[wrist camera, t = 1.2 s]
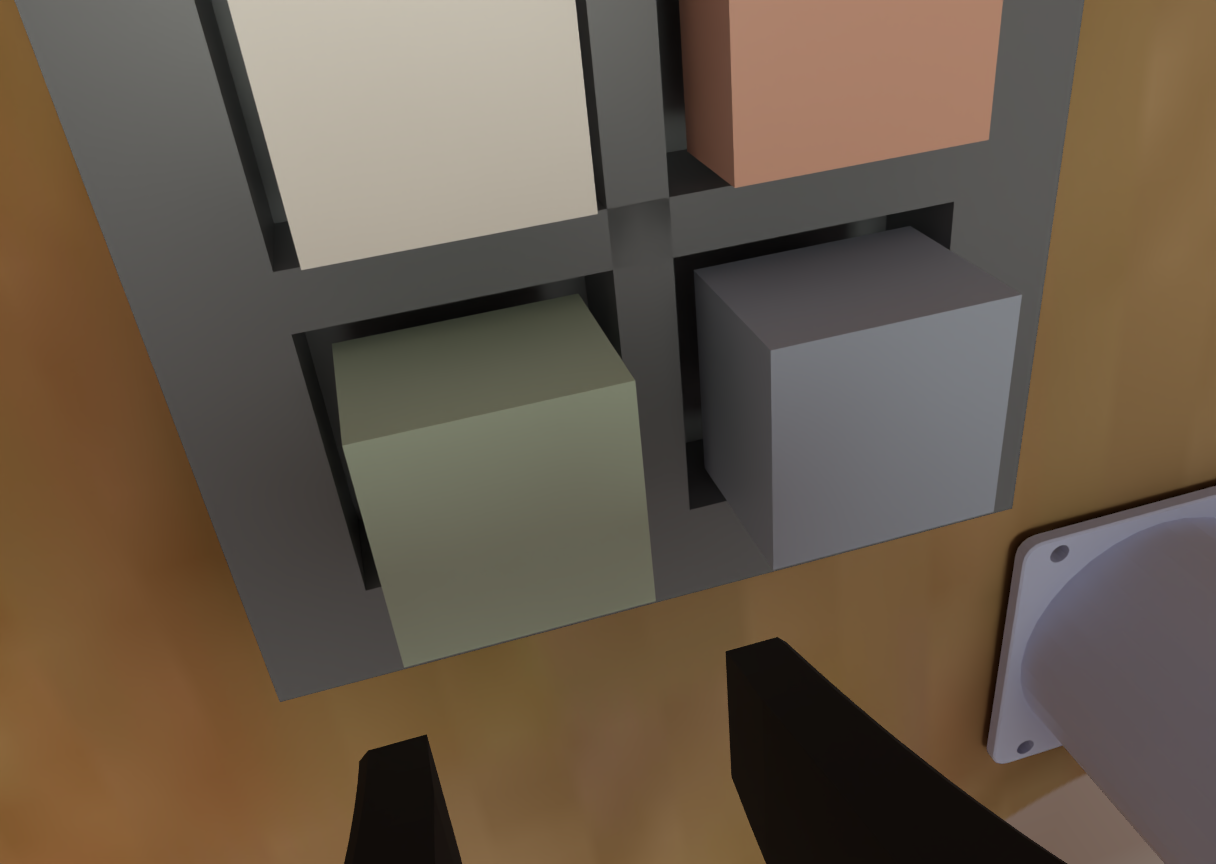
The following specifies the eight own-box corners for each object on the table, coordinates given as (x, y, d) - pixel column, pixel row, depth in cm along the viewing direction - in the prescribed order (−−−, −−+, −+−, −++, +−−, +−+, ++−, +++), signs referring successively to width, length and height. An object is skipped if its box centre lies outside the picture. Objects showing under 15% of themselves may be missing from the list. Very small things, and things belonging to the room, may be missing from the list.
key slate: (910, 225, 18) (1021, 294, 15) (897, 421, 20) (993, 511, 17) (693, 269, 17) (770, 350, 14) (704, 467, 19) (773, 569, 16)
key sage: (578, 293, 17) (634, 381, 14) (602, 492, 19) (655, 600, 16) (331, 343, 16) (342, 445, 13) (385, 544, 18) (403, 667, 15)
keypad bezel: (1030, -385, 15) (1154, -422, 13) (949, 450, 23) (1017, 513, 21) (-44, -293, 12) (-113, -321, 10) (279, 617, 20) (280, 709, 18)
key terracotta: (936, -174, 14) (1021, -176, 13) (917, 109, 17) (988, 139, 15) (671, -140, 14) (725, -138, 12) (687, 151, 16) (734, 188, 14)
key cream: (527, -122, 13) (563, -117, 12) (563, 173, 16) (597, 213, 14) (217, -84, 13) (208, -71, 11) (298, 221, 15) (301, 270, 13)
